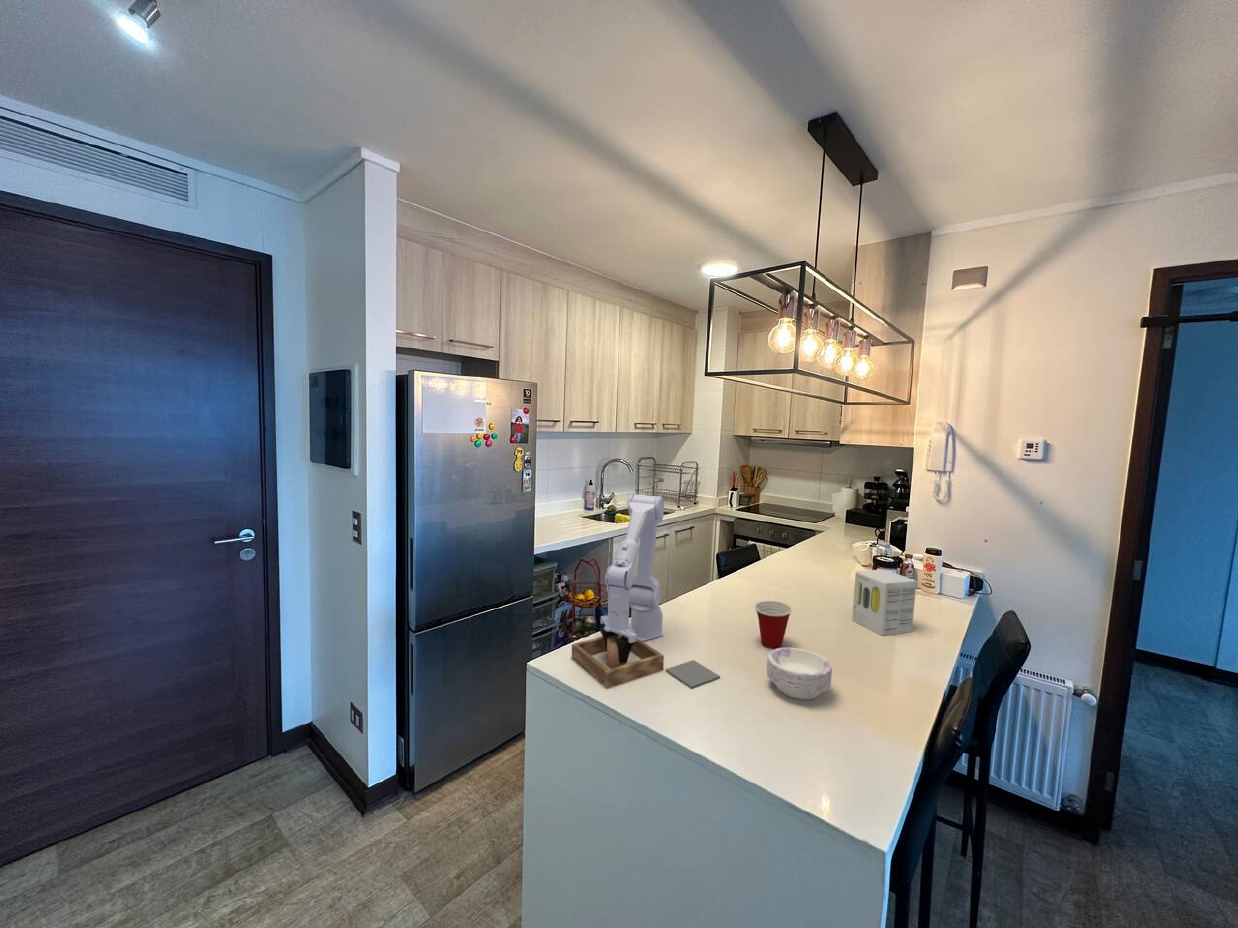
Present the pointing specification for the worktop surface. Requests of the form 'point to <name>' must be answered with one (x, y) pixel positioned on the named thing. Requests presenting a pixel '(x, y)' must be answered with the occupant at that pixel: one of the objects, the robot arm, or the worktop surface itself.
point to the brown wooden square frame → (621, 674)
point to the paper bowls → (799, 672)
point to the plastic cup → (772, 622)
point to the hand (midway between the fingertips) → (616, 657)
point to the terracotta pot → (613, 652)
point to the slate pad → (692, 674)
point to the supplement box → (884, 601)
